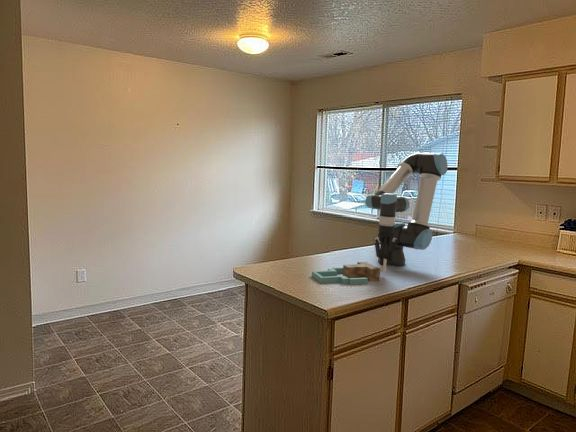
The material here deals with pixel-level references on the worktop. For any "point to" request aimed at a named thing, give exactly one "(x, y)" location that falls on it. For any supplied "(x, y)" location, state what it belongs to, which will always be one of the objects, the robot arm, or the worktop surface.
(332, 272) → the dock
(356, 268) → the t block
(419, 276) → the worktop surface
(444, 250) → the worktop surface
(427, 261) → the worktop surface
